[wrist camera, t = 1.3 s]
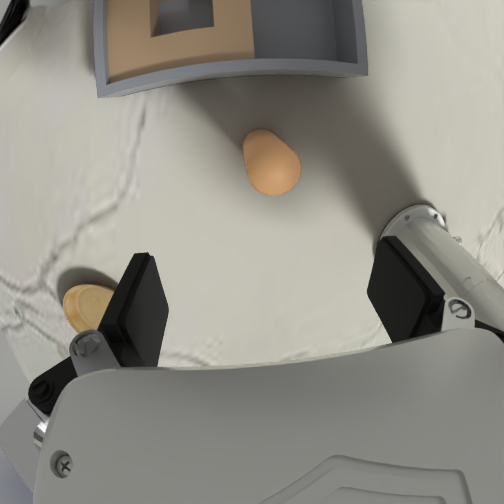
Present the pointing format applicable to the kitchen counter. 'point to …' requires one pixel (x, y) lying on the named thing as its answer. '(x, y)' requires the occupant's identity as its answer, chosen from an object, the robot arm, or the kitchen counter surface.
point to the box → (223, 41)
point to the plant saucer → (86, 305)
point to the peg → (270, 163)
